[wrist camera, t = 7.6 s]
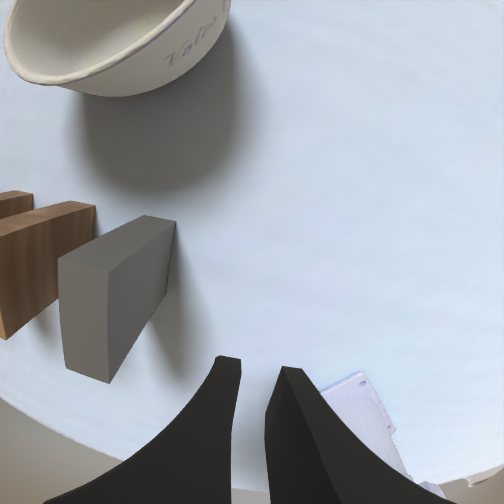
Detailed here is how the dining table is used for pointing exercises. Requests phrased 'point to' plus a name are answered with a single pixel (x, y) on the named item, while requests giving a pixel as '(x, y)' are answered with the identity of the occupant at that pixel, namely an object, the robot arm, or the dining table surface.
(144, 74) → the teacup
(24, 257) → the domino
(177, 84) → the dining table surface
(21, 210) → the domino
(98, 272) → the domino
